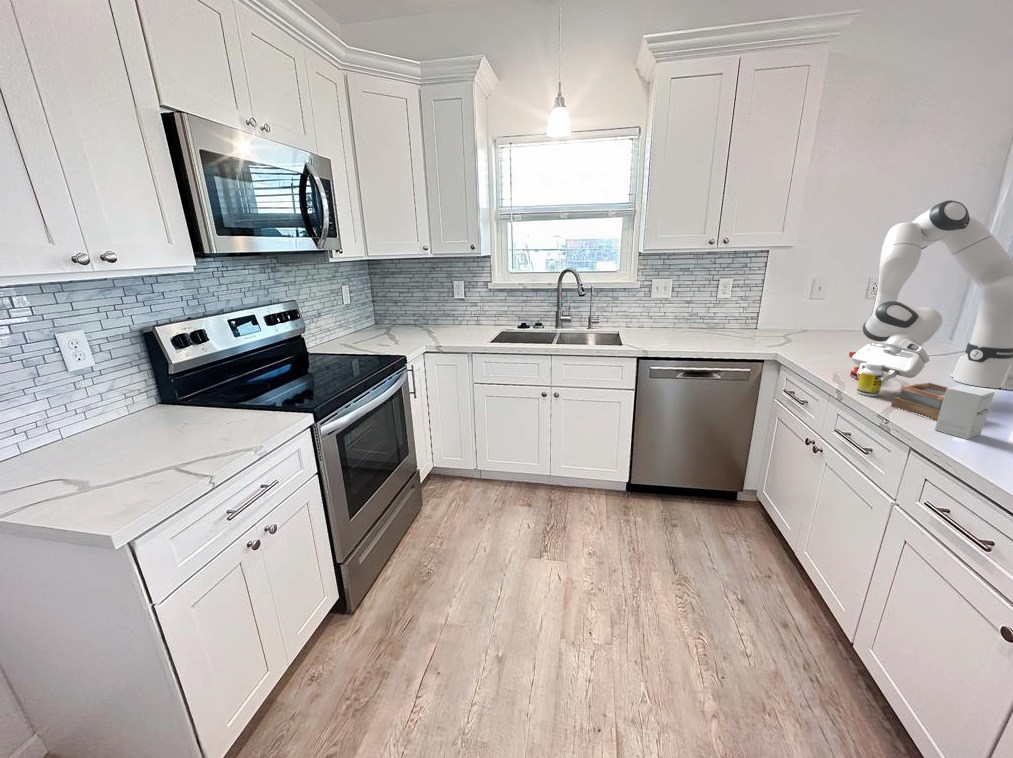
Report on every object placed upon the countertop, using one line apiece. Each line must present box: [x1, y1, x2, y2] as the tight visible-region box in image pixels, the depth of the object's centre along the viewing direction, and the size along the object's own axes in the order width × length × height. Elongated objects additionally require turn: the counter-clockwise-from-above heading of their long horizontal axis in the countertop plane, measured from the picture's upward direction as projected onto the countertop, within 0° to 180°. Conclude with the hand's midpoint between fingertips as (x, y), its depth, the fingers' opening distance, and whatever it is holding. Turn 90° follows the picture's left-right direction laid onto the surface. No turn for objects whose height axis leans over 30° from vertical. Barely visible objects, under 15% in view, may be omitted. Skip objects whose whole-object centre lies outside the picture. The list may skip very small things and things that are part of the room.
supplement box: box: [934, 384, 995, 440], centre depth 120 cm, size 7×7×13 cm
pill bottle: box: [856, 362, 885, 397], centre depth 152 cm, size 6×6×11 cm
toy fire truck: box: [848, 351, 860, 381], centre depth 169 cm, size 3×14×10 cm, turn 168°
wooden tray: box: [890, 382, 948, 422], centre depth 136 cm, size 13×13×7 cm
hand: (869, 378), depth 152 cm, fingers closed on pill bottle, 6 cm apart
